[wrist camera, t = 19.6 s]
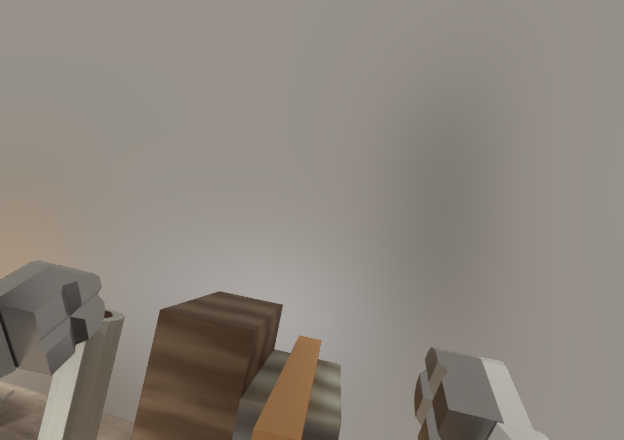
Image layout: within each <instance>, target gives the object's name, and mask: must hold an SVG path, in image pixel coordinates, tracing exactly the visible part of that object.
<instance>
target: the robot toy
mask: <svg viewBox="0 0 624 440" xmlns="http://www.w3.org/2000/svg"><path fill="white" fill-rule="evenodd" d="M13 392H14V390H11V391H10V392H9V394H7V395H6V396H5V397H4V398H3V399H1V400H0V403H1V402H2V401H4V400H5V399H6V398H7V397H8V396H9V395H11V394H13Z"/></svg>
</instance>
